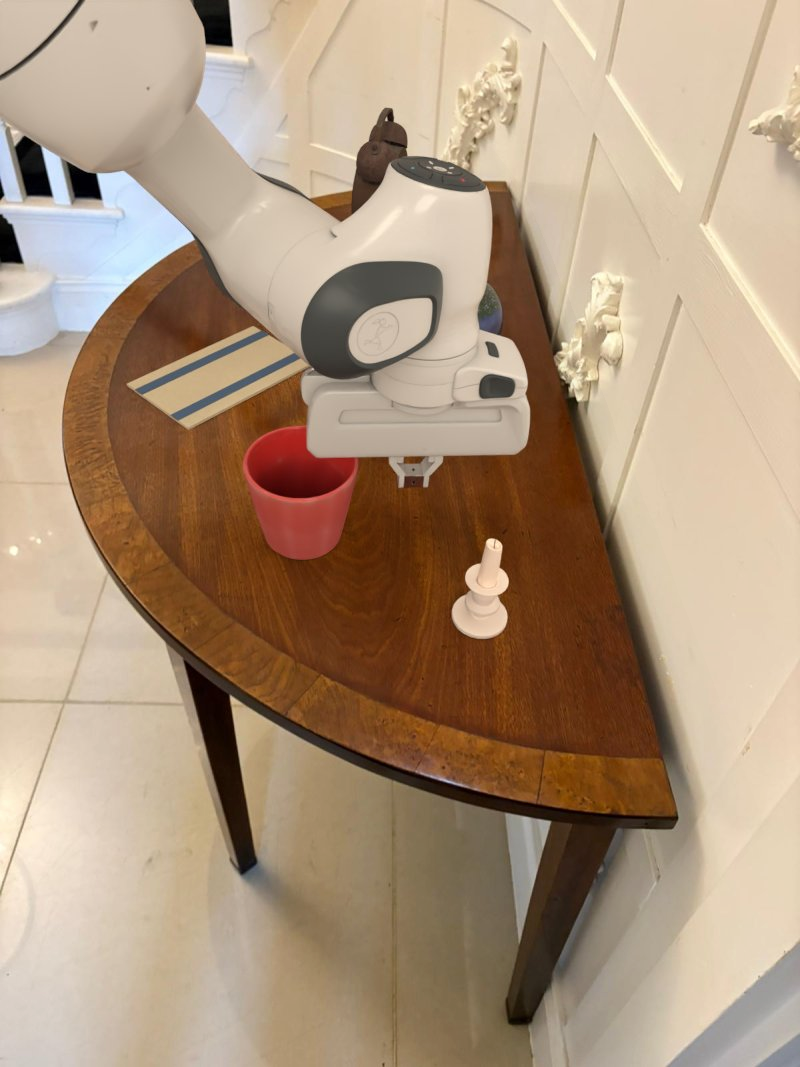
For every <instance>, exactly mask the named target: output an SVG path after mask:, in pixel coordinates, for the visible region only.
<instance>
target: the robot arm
mask: <svg viewBox="0 0 800 1067" xmlns="http://www.w3.org/2000/svg"><path fill="white" fill-rule="evenodd" d="M205 34H206V33H205V27H204V25H203V22H202V20H201V18H200V17H199V15H198V12H197V10H196V9H195V7H194V5H193V3H192V1H191V0H0V119H1V120H2V121H4V122H5V123H6V124H8V125H9V126H10V127H11V128H13V129H14V130H16V131H18V132H19V133H20V134H22V135H23V136H25V137H26V138H28V139H30V140H31V141H32V142H34V143H36V144H37V145H39V146H41V147H42V148H44V149H45V150H47V151H49V152H50V153H52V154H54V155H55V156H57V157H59V158H60V159H62V160H64V161H66V162H67V163H69V164H71V165H72V166H75V167H76V168H78V169H80V170H82V171H84V172H86V173H89V174H90V173H91V174H114V173H121V172H125V173H126V174H127V175H128V176H130V177H131V178H132V179H133V180H135V182H136V183H138V185H140V186H141V187H142V188H143V189H144V190H145V191H146V192H147V193H148V194H149V195H150V196H152V197H153V198H154V200H156V201H157V202H158V203H159V204H160V205H161V206H162V207H163V208H165V209H166V210H167V211H168V212H169V213H170V214H171V215H172V216H173V217H174V218H175V219H176V220H178V222H180V224H182V226H184V227H185V228H186V230H188V231H189V233H190V234H191V236H192V237H193V239H194V241H195V243H196V246H197V247H198V250H199V252H200V255H201V257H202V260H203V262H204V264H205V265H204V266H205V267H206V269H207V272H208V275H209V276H210V278H211V280H212V282H213V284H214V285H215V286H216V287H217V289H218V290H219V291H220V293H221V294H222V295H224V296H225V297H226V298H227V299H228V300H229V301H231V302H232V303H234V304H235V305H236V306H238V307H239V308H240V309H242V310H243V311H245V312H247V313H248V314H249V315H251V317H253V319H255V320H256V321H257V322H259V324H261V325H262V326H263V327H264V328H265V329H266V330H267V331H269V333H271V334H272V335H273V336H274V337H275V338H277V340H278V341H280V342H281V343H283V344H285V345H286V346H287V347H288V348H289V349H291V350H292V351H293V352H294V353H295V354H296V355H297V356H299V357H300V358H301V359H302V360H303V361H304V362H305V363H307V364H308V365H309V366H310V367H309V368H307V369H305V370H304V371H303V372H302V373H301V376H300V379H299V384H300V385H299V387H300V398H301V399H302V401H303V402H304V404H306V406H307V409H306V421H305V422H306V425H305V426H306V443H307V450H308V451H309V452H310V453H311V454H312V455H313V456H315V457H316V458H351V457H358V458H387V459H388V465H389V466H390V467H391V468H392V470H393V471H394V472H395V474H396V482H397V488H398V489H409V488H412V489H413V488H429V484H430V483H429V482H430V476H431V475H433V473H435V472H436V470H437V469H438V468H439V467H441V465H442V464H443V462H444V457H456V456H457V457H461V456H462V457H463V456H467V457H469V456H514V455H517V454H518V453H520V452H521V451H522V450H523V449H525V448H526V447H527V444H528V440H529V435H530V426H531V407H530V404H529V400H528V397H527V390H528V385H529V379H528V372H527V370H526V366H525V362H524V360H523V357H522V355H521V353H520V350H519V348H518V347H517V345H516V343H515V342H514V341H513V340H512V339H511V338H509V337H506V336H503V335H500V336H499V335H496V334H492V333H489V332H486V331H483V330H480V329H479V322H478V316H477V313H478V307H479V304H480V301H481V299H482V297H483V295H484V293H485V289H486V284H487V282H488V278H489V277H488V276H489V269H490V263H491V262H490V261H491V254H492V252H491V251H492V242H493V240H492V239H493V207H492V200H491V195H490V192H489V189H488V186H487V185H486V184H485V183H484V182H483V180H482V179H481V178H480V177H478V176H477V175H475V174H474V173H472V172H471V171H469V170H467V169H465V168H464V167H461V166H460V165H457V164H455V163H453V162H450V161H446V160H441V159H438V158H435V157H430V156H424V155H423V156H422V155H408V156H406V157H402V158H399V159H395V160H393V161H392V162H391V163H390V164H389V165H388V168H387V170H386V173H385V176H384V179H383V181H382V183H381V185H380V186H379V188H378V189H377V190H376V191H375V193H374V194H373V195H372V196H371V197H370V199H369V200H368V201H367V202H366V203H365V204H364V205H363V206H362V207H361V208H359V209H358V210H357V211H356V212H355V213H354V214H352V213H351V215H349V216H348V217H346V218H345V219H343V221H340V220H339V219H337V218H336V217H334V216H333V215H332V214H330V213H329V212H327V211H325V210H324V209H322V208H321V207H320V206H319V205H318V204H317V203H316V202H314V201H313V200H312V199H311V198H309V197H308V196H307V195H305V194H304V193H303V192H302V191H301V190H299V189H297V188H296V187H295V186H293V185H291V184H289V183H287V182H285V181H283V180H280V179H277V178H275V177H272V176H268V175H266V174H264V173H260V172H258V171H256V170H254V169H253V168H252V167H250V165H249V164H248V163H247V162H246V161H245V160H244V158H243V157H242V156H241V154H239V152H238V151H237V149H235V147H233V145H232V143H230V141H229V140H228V139H227V138H226V136H224V135H223V133H222V132H221V131H220V130H219V129H218V128H217V126H216V125H215V124H214V122H212V120H211V119H210V118H209V117H208V115H207V114H206V113H205V112H204V111H203V109H202V108H201V107H200V106H199V105H198V103H197V100H198V98H199V95H200V93H201V89H202V84H203V81H204V75H205V71H206V58H207V45H206V36H205ZM406 457H407V458H408V457H409V458H410V457H424V458H423V459H422V461H421V462H419V463H405V462H404V461H405V458H406Z"/></svg>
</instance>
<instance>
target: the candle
mask: <svg viewBox="0 0 800 1067" xmlns="http://www.w3.org/2000/svg"><path fill="white" fill-rule="evenodd" d="M502 553H503V544H502V543H501V541H499V540H498V539H497V538H488V539H487V540H486V541H485V545H484V550H483V553H482V557H481V562H480V563H476V564H474V565H471V566H470V567H469V568H468V569H467V571H466V572H465V576H464V579H465V584H466V586H467V587H468V588H469V590H468V592H466V594H464V595H462V596H460V597H458V599H456V600H455V601H454V603H453V604H452V609H451V620H452V623H453V625H454V626H455V627H456V629H457V630H458V631H460V633H462V634H463V635H465V636H467V637H469V638H473V639H477V640H487V639H492V638H495V637H497V636H499V635H500V634H501V633H502V632H503V631H504V630H505V628H506V627H507V624H508V619H509V618H508V612H507V609H506V607H505V606H504V604H503V603H502V602H501V601H500V600H501V599H500V597H499V595H502V594H503V593H505V591H506V590H507V589H508V587H509V581H510V580H509V577H508V573H506V572H505V570H503V569H502V568H501V567H500V566H501V560H502Z"/></svg>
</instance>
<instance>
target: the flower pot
mask: <svg viewBox="0 0 800 1067" xmlns="http://www.w3.org/2000/svg"><path fill="white" fill-rule="evenodd" d="M247 448H248V449H246V451H245V453H244V457H243V459H242V471H243V475H244V479H245V482H246V486H247V489H248V492H249V496H250V499H251V502H252V505H253V508H254V511H255V514H256V517H257V520H258V522H259V525H260V528H261V530H262V533H263V536H264V539H265V541H266V543H267V544H268V546H269V548H271V550H273V552H275V553H277V554H279V555H281V556H282V557H284V558H288V559H291V560H298V561H305V560H306V561H307V560H314V559H317V558H320V557H322V556H325V555H327V554H328V553H330V552H331V551H332V550H334V548H335V547H336V546H337V545H338V543H339V542H340V540H341V537H342V533H343V530H344V526H345V522H346V518H347V515H348V512H349V508H350V504H351V501H352V497H353V492H354V490H355V489H354V488H355V485H356V482H357V476H358V471H359V457H351V458H316V457H315V456H313V455H312V454H311V453H310V452H309V451H308V450H307V443H306V425H293V426H292V425H291V426H285V427H281V428H277V429H273V430H271V431H268V432H266V433H264V434H263V435H261V436H260V437H258V438H257V439H256V440H254V441H253V442H252V443H251V444H250V446H249V447H247Z"/></svg>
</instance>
